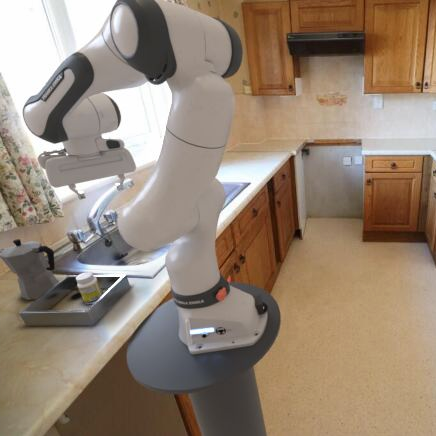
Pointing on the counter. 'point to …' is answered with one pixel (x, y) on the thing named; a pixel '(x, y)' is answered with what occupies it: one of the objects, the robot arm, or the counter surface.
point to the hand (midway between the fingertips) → (102, 193)
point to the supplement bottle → (89, 287)
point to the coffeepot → (30, 267)
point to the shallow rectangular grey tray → (38, 308)
